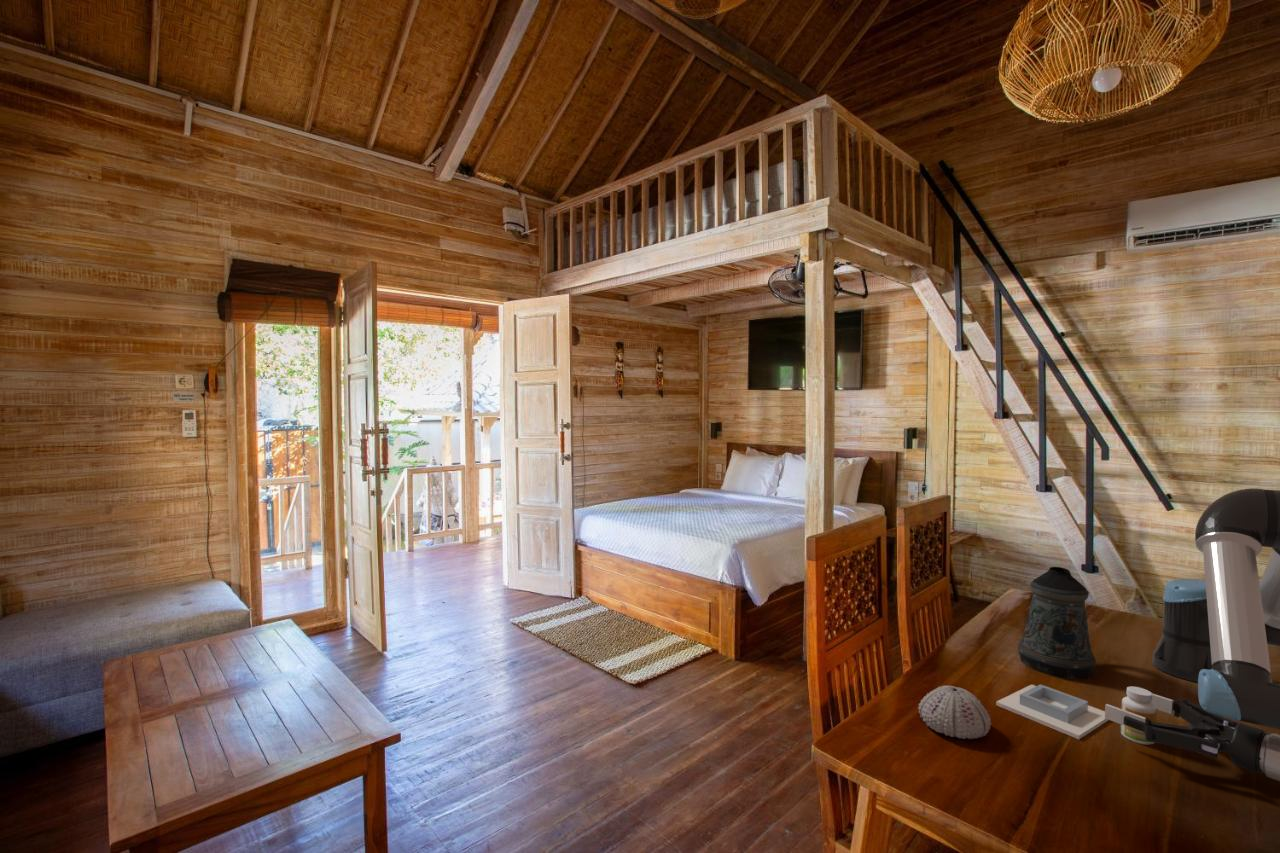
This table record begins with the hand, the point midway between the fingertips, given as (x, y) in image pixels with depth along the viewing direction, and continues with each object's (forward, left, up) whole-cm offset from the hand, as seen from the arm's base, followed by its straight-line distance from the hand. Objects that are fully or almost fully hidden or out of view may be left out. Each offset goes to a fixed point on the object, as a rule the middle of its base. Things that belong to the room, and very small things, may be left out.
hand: (1119, 702), depth 123 cm
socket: (+3, -11, -6) cm, 13 cm away
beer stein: (-25, -23, -6) cm, 34 cm away
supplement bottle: (0, +3, -6) cm, 7 cm away
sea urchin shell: (+28, -19, -6) cm, 34 cm away
